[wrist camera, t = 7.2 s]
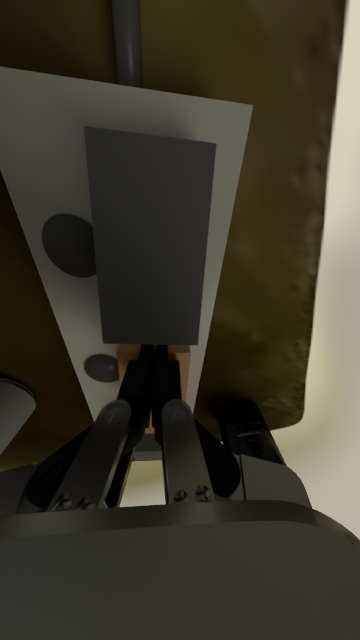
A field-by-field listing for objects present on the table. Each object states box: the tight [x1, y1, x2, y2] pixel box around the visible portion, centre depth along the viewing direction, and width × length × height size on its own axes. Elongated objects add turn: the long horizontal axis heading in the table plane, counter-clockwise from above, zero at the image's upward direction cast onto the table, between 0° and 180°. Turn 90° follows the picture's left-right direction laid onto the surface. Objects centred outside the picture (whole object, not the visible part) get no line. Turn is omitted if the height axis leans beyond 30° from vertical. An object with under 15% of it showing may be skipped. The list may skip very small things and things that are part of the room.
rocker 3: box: [133, 433, 162, 461], centre depth 17 cm, size 8×5×2 cm, turn 176°
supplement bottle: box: [217, 401, 287, 467], centre depth 20 cm, size 7×7×12 cm
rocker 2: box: [117, 344, 191, 434], centre depth 12 cm, size 8×5×2 cm, turn 176°
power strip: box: [0, 0, 253, 422], centre depth 13 cm, size 39×11×5 cm, turn 176°
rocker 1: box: [84, 126, 217, 345], centre depth 7 cm, size 8×5×2 cm, turn 176°
